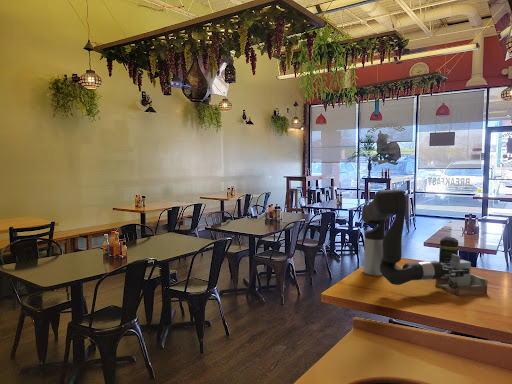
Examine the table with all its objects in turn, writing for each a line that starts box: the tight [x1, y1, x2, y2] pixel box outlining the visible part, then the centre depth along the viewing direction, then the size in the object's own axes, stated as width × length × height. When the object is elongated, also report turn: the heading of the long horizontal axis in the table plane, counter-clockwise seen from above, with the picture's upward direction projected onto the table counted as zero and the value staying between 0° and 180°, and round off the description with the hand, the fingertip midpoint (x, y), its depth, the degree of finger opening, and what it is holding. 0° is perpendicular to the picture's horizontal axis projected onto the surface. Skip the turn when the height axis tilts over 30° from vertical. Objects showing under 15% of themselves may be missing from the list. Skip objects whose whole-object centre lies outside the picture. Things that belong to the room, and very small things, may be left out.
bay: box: [434, 273, 488, 297], centre depth 167 cm, size 14×13×6 cm
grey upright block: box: [448, 254, 472, 289], centre depth 166 cm, size 5×7×14 cm
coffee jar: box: [438, 236, 459, 277], centre depth 185 cm, size 10×8×19 cm
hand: (461, 268), depth 166 cm, fingers open, 8 cm apart
